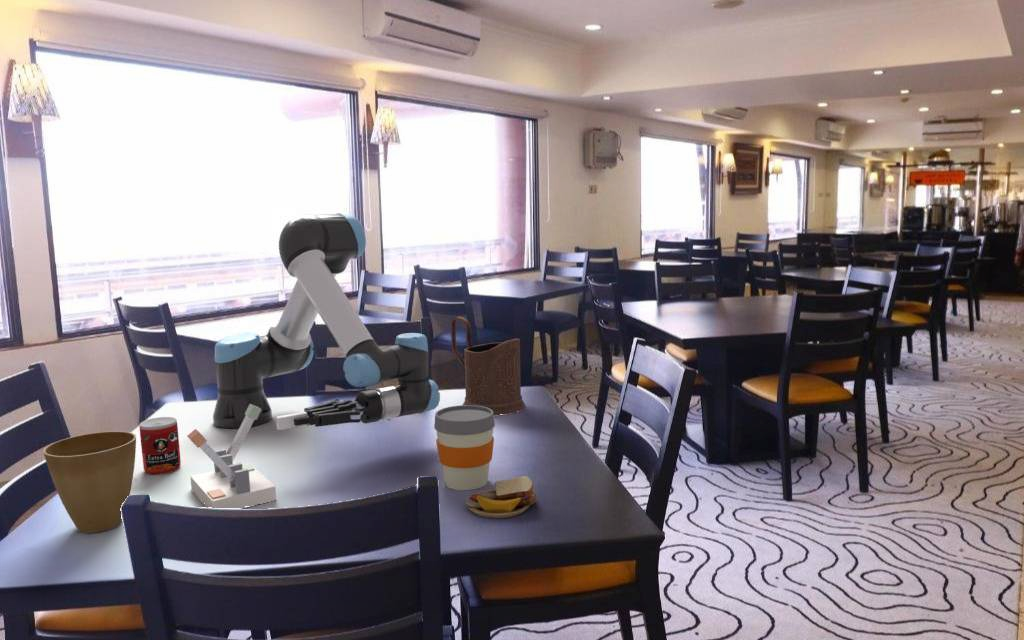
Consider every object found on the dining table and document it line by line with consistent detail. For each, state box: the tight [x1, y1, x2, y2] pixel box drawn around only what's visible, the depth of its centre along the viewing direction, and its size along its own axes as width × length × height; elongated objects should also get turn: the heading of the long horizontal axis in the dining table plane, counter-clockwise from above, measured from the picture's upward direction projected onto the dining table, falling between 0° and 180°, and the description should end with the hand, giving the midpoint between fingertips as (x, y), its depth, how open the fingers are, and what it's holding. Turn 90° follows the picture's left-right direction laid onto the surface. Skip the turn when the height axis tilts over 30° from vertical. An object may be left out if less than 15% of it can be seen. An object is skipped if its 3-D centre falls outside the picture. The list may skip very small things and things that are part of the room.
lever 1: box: [186, 428, 236, 485], centre depth 145 cm, size 2×2×15 cm
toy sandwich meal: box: [465, 475, 537, 519], centre depth 145 cm, size 12×14×5 cm
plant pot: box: [42, 430, 137, 534], centre depth 139 cm, size 15×15×16 cm
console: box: [190, 448, 277, 509], centre depth 153 cm, size 17×12×7 cm
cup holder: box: [450, 316, 527, 416], centre depth 215 cm, size 18×24×25 cm
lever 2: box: [226, 404, 262, 462], centre depth 158 cm, size 2×2×15 cm
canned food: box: [139, 416, 182, 476], centre depth 169 cm, size 8×8×11 cm
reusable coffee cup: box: [433, 404, 496, 491], centre depth 157 cm, size 13×13×15 cm
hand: (277, 423), depth 163 cm, fingers closed
